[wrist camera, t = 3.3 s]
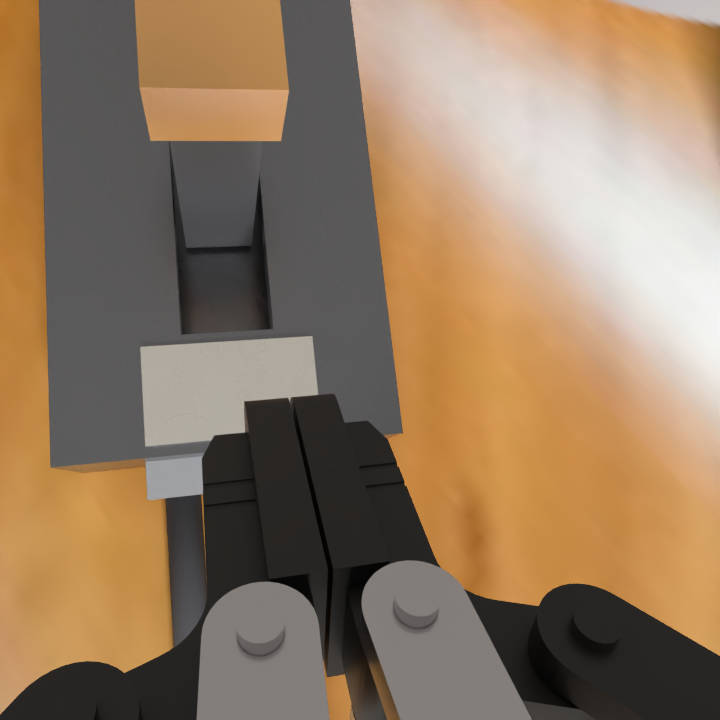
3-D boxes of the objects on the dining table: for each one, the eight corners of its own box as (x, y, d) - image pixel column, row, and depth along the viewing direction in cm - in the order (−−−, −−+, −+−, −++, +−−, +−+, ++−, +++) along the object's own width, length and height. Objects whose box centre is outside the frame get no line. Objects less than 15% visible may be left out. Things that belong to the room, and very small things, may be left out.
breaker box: (68, 21, 35) (36, -76, 29) (325, 31, 38) (344, -55, 32) (83, 472, 31) (49, 467, 25) (372, 443, 34) (403, 432, 28)
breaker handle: (169, 184, 33) (133, -20, 20) (258, 183, 34) (278, -12, 21) (174, 252, 32) (139, 87, 19) (263, 249, 33) (289, 90, 20)
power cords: (154, 465, 31) (145, 461, 28) (311, 449, 33) (321, 444, 30) (170, 774, 29) (163, 812, 25) (339, 740, 31) (353, 772, 27)
